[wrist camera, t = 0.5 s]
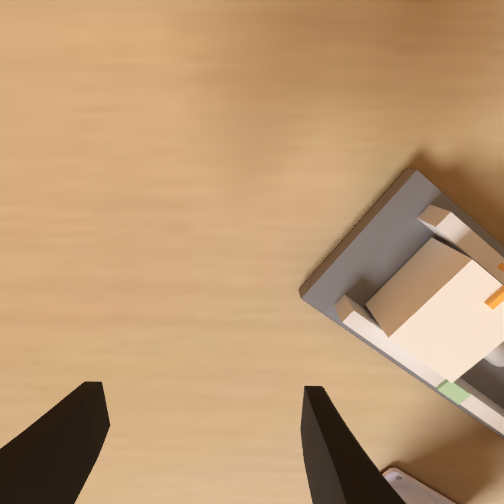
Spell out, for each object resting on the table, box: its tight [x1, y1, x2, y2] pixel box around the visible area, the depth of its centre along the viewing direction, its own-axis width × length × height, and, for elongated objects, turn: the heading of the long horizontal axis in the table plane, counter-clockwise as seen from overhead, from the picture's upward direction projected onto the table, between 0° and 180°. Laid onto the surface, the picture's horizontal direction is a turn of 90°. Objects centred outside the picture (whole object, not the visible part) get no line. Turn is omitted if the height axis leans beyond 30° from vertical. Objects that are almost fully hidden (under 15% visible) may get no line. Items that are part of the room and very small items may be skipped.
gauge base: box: [299, 168, 504, 439], centre depth 19 cm, size 22×10×5 cm, turn 53°
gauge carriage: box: [366, 237, 504, 383], centre depth 17 cm, size 8×7×4 cm
